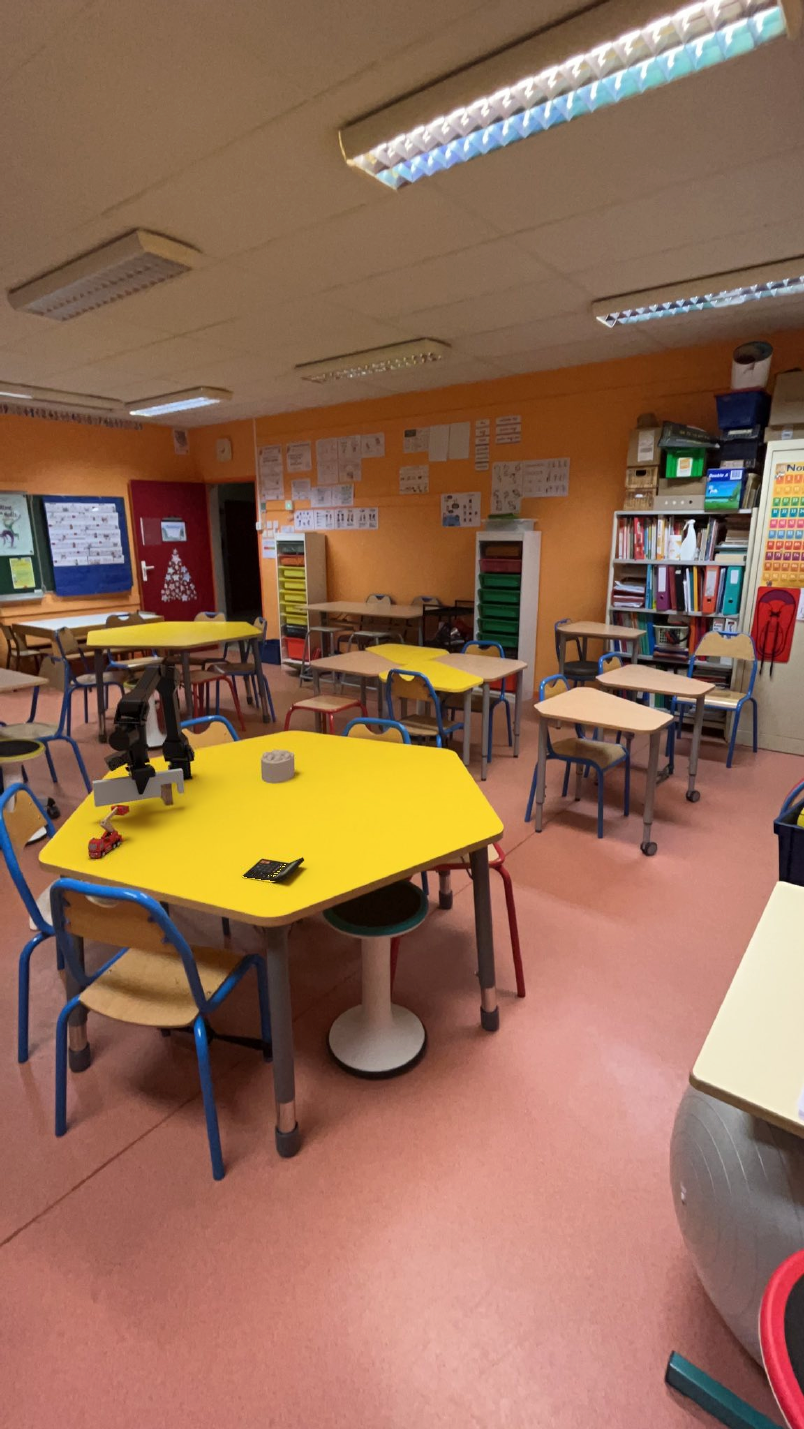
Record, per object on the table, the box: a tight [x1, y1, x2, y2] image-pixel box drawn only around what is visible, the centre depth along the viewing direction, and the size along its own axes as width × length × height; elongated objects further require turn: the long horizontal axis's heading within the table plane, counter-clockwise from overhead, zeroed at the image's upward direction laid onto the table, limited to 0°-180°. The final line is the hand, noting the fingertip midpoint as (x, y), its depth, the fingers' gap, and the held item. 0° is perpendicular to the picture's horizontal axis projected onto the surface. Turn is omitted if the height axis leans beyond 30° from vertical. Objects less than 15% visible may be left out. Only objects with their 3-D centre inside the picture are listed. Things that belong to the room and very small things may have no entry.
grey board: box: [92, 768, 185, 808], centre depth 187 cm, size 24×2×7 cm, turn 121°
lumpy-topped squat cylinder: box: [260, 749, 296, 784], centre depth 222 cm, size 10×13×9 cm
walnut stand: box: [160, 783, 174, 806], centre depth 200 cm, size 10×2×7 cm, turn 31°
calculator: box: [242, 857, 305, 882], centre depth 156 cm, size 9×12×3 cm
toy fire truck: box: [87, 804, 130, 859], centre depth 166 cm, size 3×14×10 cm, turn 168°
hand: (140, 793), depth 187 cm, fingers closed on grey board, 2 cm apart
